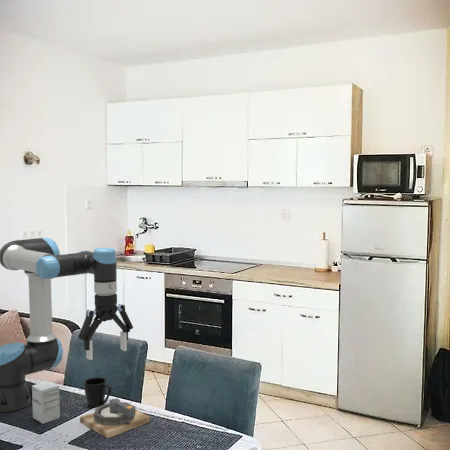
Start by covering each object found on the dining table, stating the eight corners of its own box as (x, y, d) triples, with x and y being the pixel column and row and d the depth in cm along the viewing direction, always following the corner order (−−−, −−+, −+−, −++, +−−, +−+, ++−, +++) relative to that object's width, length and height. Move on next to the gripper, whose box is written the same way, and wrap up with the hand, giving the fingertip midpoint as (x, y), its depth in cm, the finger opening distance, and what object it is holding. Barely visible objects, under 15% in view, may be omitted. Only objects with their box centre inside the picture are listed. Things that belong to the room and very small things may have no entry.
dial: (95, 416, 198) (95, 400, 197) (118, 407, 205) (118, 392, 204) (119, 429, 187) (118, 412, 187) (142, 420, 194) (142, 403, 194)
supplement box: (32, 418, 201) (31, 385, 200) (50, 412, 207) (49, 380, 206) (42, 424, 196) (40, 390, 195) (60, 418, 202) (59, 384, 201)
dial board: (80, 422, 198) (79, 410, 198) (121, 407, 211) (121, 396, 210) (107, 438, 185) (107, 425, 185) (150, 421, 198) (149, 409, 198)
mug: (103, 412, 206) (102, 388, 205) (80, 406, 212) (79, 382, 212) (118, 405, 213) (117, 381, 212) (95, 399, 219) (95, 376, 219)
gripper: (78, 300, 174) (80, 365, 175) (142, 289, 191) (143, 348, 193) (66, 297, 179) (68, 360, 181) (129, 287, 197) (130, 344, 198)
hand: (107, 354), depth 187 cm, fingers open, 13 cm apart
